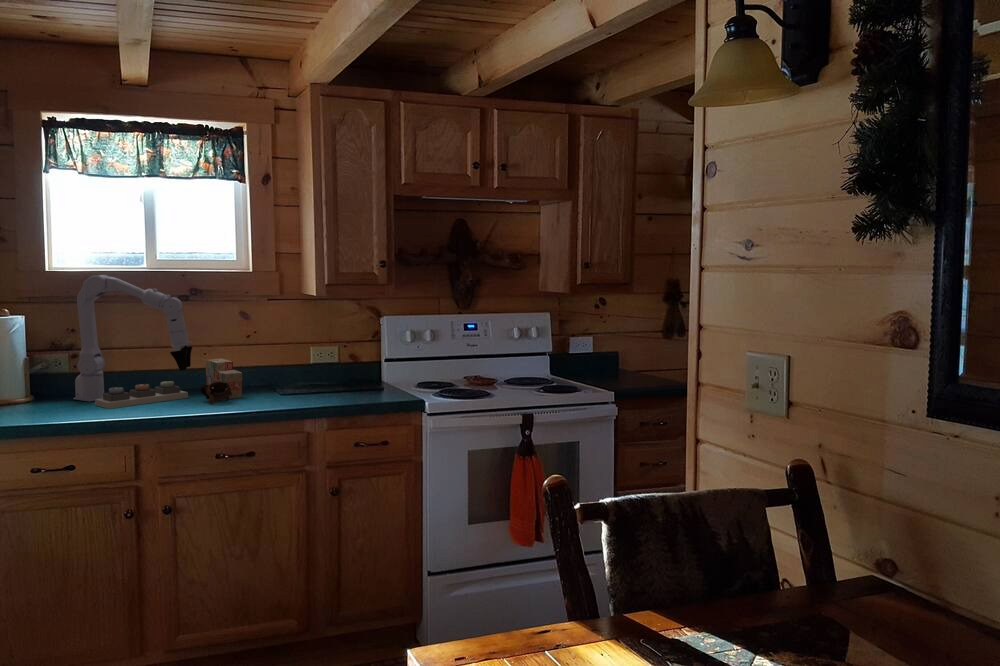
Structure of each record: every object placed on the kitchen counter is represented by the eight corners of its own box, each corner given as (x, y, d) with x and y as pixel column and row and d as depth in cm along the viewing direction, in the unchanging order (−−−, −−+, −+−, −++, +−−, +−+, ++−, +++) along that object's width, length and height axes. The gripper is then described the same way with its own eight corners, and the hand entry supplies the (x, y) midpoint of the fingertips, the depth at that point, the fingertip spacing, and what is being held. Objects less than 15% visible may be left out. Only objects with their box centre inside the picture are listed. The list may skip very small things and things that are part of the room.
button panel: (108, 408, 264) (107, 396, 264) (95, 405, 271) (94, 393, 271) (188, 397, 286) (187, 386, 285) (174, 394, 292) (173, 383, 292)
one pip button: (164, 387, 282) (164, 383, 281) (158, 386, 284) (158, 381, 284) (176, 386, 285) (176, 381, 285) (170, 384, 288) (170, 380, 288)
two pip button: (112, 394, 268) (112, 389, 268) (106, 392, 271) (106, 388, 271) (125, 392, 271) (125, 388, 271) (119, 391, 274) (119, 386, 274)
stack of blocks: (242, 397, 287) (241, 364, 286) (225, 399, 283) (224, 365, 282) (222, 389, 304) (222, 357, 303) (206, 391, 300) (205, 359, 299)
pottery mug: (237, 400, 283) (237, 383, 279) (223, 417, 276) (223, 399, 271) (206, 391, 285) (205, 373, 280) (192, 407, 277) (190, 389, 272)
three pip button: (139, 390, 275) (138, 386, 275) (133, 389, 278) (133, 384, 278) (151, 389, 278) (151, 384, 278) (145, 387, 281) (145, 383, 281)
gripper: (185, 331, 278) (193, 369, 279) (193, 327, 292) (200, 363, 293) (164, 334, 276) (172, 372, 278) (172, 330, 290) (180, 367, 292)
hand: (185, 368), depth 286 cm, fingers open, 7 cm apart
